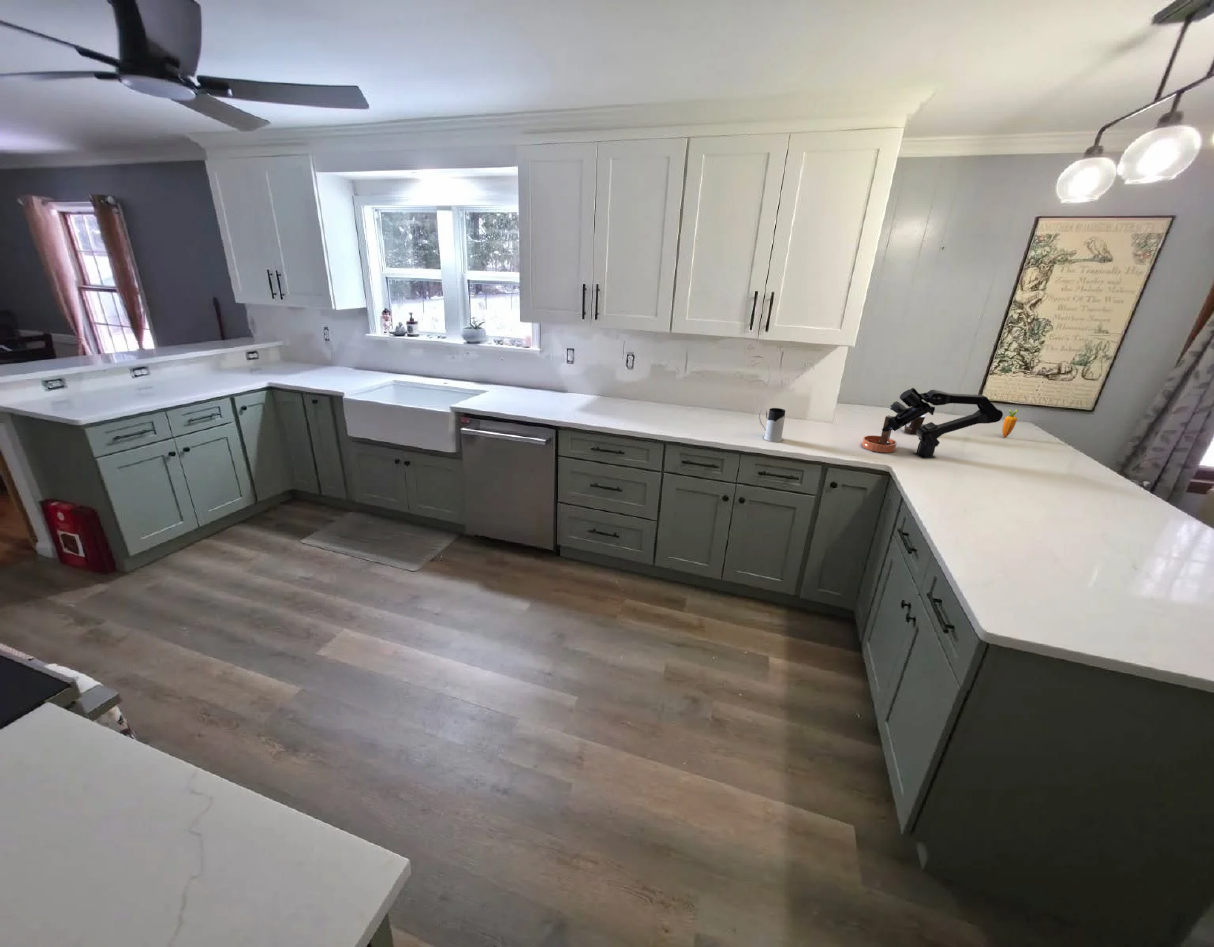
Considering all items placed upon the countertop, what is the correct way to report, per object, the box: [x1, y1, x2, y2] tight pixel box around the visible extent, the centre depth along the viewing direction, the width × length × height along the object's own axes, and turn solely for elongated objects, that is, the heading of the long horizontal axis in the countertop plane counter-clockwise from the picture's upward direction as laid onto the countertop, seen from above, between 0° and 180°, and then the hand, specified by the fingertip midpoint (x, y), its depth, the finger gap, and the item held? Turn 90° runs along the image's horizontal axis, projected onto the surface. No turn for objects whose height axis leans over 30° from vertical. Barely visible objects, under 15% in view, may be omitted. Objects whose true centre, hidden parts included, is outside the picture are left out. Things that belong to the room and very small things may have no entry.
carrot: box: [1001, 409, 1018, 439], centre depth 251 cm, size 5×5×15 cm
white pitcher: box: [758, 407, 786, 443], centre depth 247 cm, size 9×14×15 cm, turn 39°
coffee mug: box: [903, 414, 927, 436], centre depth 259 cm, size 12×9×10 cm
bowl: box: [861, 435, 898, 454], centre depth 237 cm, size 14×14×4 cm
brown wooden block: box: [878, 415, 893, 445], centre depth 234 cm, size 4×4×14 cm
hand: (883, 429), depth 235 cm, fingers closed on brown wooden block, 3 cm apart
